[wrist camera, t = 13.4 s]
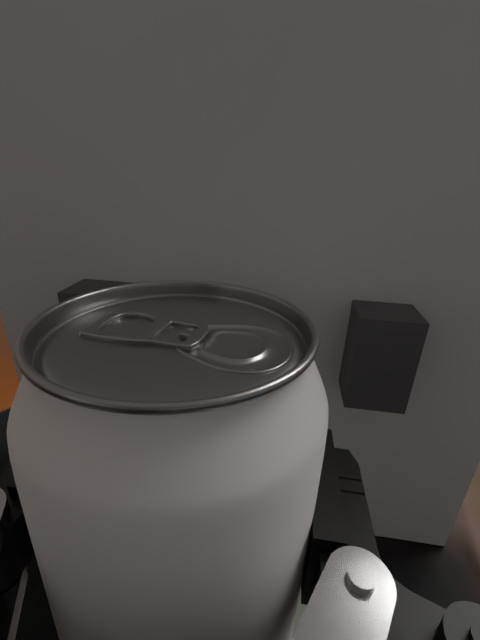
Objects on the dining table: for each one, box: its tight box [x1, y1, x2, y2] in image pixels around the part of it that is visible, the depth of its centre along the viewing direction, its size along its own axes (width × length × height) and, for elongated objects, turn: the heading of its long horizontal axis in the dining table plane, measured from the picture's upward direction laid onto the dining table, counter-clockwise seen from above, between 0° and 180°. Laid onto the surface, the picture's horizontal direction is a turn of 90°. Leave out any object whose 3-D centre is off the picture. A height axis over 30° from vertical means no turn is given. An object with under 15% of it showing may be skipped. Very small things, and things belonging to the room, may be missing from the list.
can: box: [7, 280, 328, 640], centre depth 9 cm, size 6×6×12 cm
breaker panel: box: [0, 0, 480, 546], centre depth 17 cm, size 7×24×26 cm, turn 82°
